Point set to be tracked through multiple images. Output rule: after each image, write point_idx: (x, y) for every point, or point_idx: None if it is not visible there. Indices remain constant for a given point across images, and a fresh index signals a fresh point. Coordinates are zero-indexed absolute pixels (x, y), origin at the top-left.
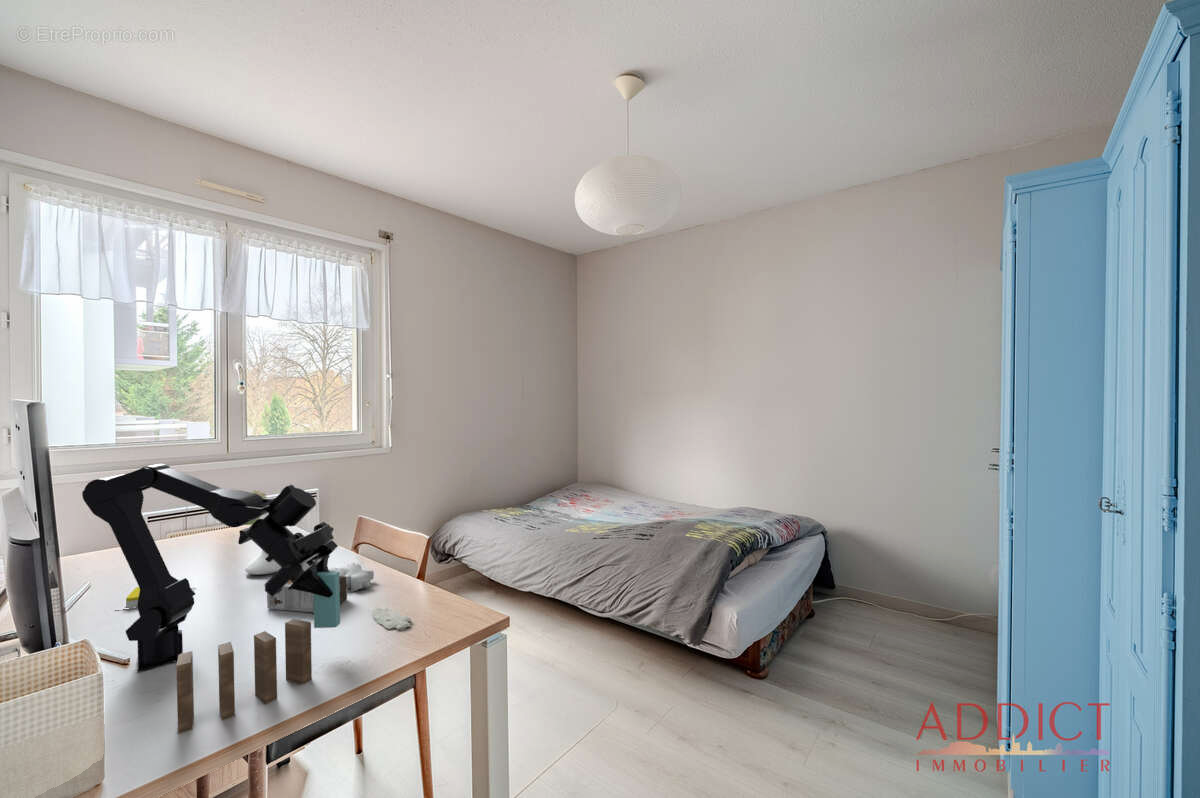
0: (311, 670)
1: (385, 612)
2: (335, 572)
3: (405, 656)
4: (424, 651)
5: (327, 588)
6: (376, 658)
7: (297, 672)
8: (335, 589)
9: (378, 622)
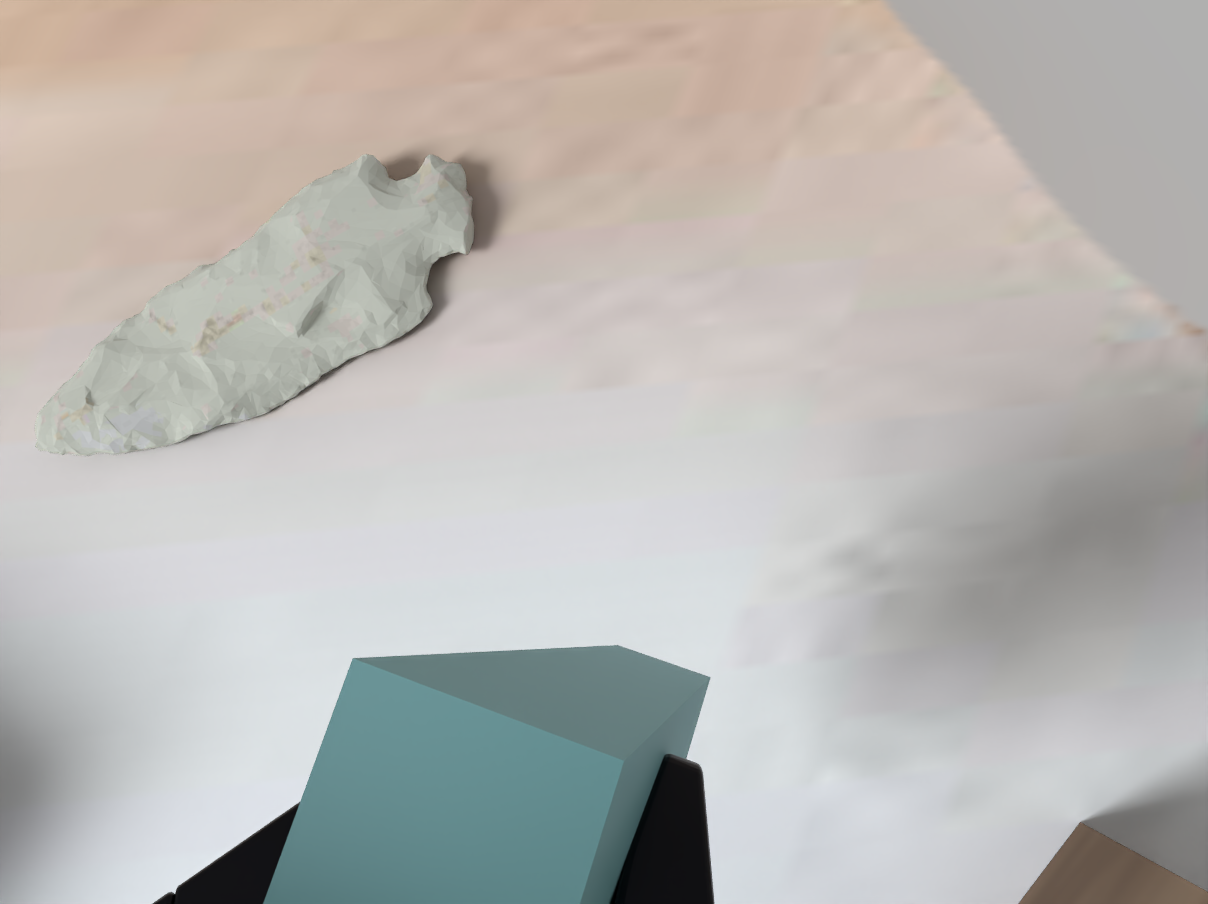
0: (1110, 840)
1: (158, 351)
2: (406, 767)
3: (915, 165)
4: (881, 49)
5: (687, 896)
6: (877, 361)
7: None
8: (668, 711)
9: (278, 399)
